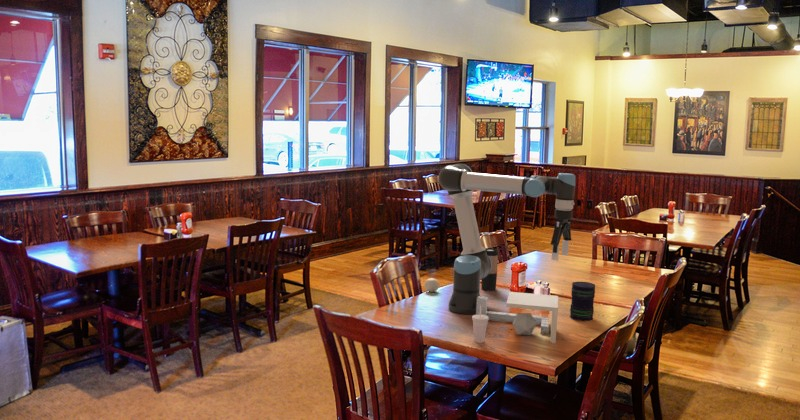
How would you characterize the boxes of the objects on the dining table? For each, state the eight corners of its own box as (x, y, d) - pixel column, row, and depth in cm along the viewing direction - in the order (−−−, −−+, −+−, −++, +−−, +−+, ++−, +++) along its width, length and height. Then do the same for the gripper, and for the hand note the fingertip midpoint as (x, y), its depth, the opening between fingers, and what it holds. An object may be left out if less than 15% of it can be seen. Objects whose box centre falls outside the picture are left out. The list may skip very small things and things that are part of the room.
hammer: (474, 326, 280) (475, 300, 279) (478, 317, 294) (479, 292, 292) (548, 334, 273) (549, 307, 272) (548, 323, 287) (550, 298, 285)
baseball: (441, 291, 333) (442, 278, 332) (431, 294, 328) (432, 280, 327) (431, 289, 338) (432, 275, 337) (421, 291, 333) (421, 278, 332)
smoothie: (486, 338, 266) (488, 303, 264) (488, 344, 259) (490, 308, 257) (469, 338, 265) (471, 303, 263) (472, 343, 259) (473, 308, 257)
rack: (504, 337, 267) (506, 303, 265) (508, 324, 284) (509, 291, 282) (555, 343, 263) (557, 307, 261) (556, 329, 280) (558, 295, 278)
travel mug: (478, 287, 344) (480, 248, 341) (492, 286, 346) (494, 247, 343) (484, 291, 337) (486, 251, 334) (498, 290, 339) (500, 250, 336)
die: (529, 340, 267) (542, 318, 269) (510, 327, 268) (523, 306, 270) (525, 341, 275) (537, 320, 277) (506, 329, 276) (519, 308, 278)
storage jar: (566, 314, 302) (568, 281, 299) (588, 314, 302) (590, 281, 300) (573, 321, 292) (576, 287, 290) (596, 321, 292) (598, 287, 290)
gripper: (563, 213, 282) (559, 263, 285) (581, 207, 303) (576, 254, 307) (545, 211, 286) (541, 260, 289) (564, 205, 307) (560, 251, 310)
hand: (559, 257), depth 298 cm, fingers open, 13 cm apart
